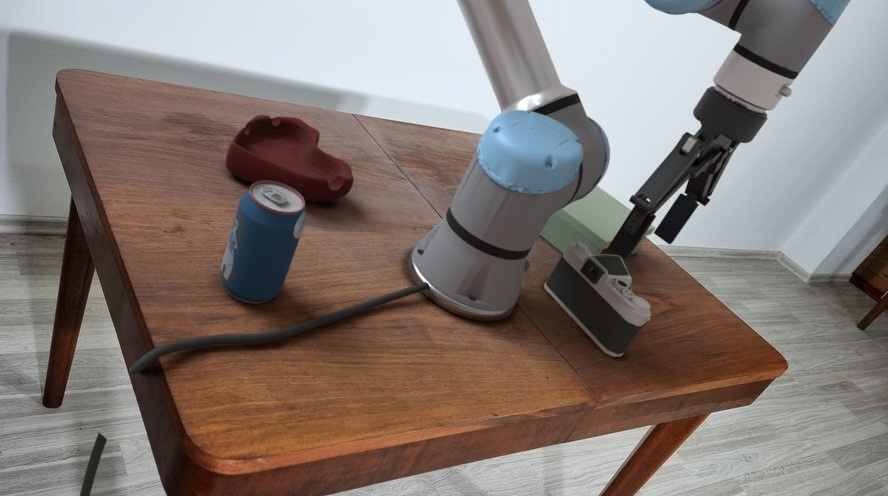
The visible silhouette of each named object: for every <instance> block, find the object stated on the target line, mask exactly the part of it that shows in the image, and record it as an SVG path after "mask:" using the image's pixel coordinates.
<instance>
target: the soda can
mask: <svg viewBox="0 0 888 496" xmlns="http://www.w3.org/2000/svg"><path fill="white" fill-rule="evenodd" d="M305 207H306V200H304V198H303V197H302V195H301V194H300V193H299V192H297V191H296V190H295V189H293V188H291V187H289V186H287V185H285V184H282V183H279V182H275V181H258V182H255V183H252V184H251V186H250V187H249V190H248V191H247V192H246V193H244V194H243V196H241V197H240V200H239V203H238V207H237V210H236V214H235V216H234V220H233V224H232V227H231V231H230V234H229V238H228V240H227V245H226V247H225V251H224V254H223V257H222V261H221V265H220V268H219V276H220V279H221V282H222V284H223V287H224V289H225V290H226V292H227V293H228V294H229V295H230V296H232V297H233V298H235V299H236V300H239V301H240V302H243V303H247V304H255V305H257V304H263V303H266V302H268V301H270V300H271V299H273V298H274V297H276V296H277V295H279V294H280V293H281V291H282V289H283V287H284V284H285V281H286V278H287V276H288V273H289V270H290V267H291V264H292V261H293V258H294V255H295V253H296V250H297V247H298V244H299V243H300V238H301V237H302V233H303V230H304V227H305V225H306V222H307V216H306V215H307V214H306V211H305Z"/></svg>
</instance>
